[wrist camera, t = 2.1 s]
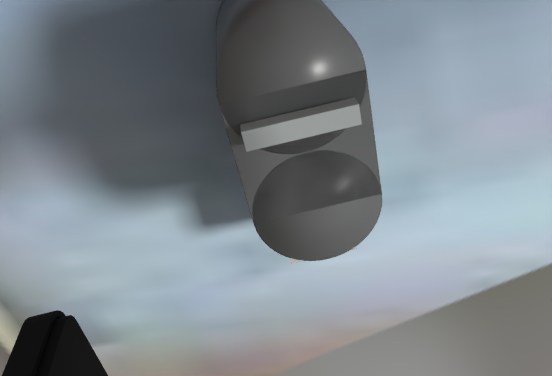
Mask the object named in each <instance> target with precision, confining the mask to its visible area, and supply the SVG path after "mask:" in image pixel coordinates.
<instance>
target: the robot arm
mask: <svg viewBox="0 0 552 376" xmlns="http://www.w3.org/2000/svg"><path fill="white" fill-rule="evenodd" d="M2 376H108V375H107V373H106V371H105V369H104V368H103V366H102V364H101V362H100V361H99V359H98V357H97V356H96V354H95V352H94V350H93V349H92V347H91V345H90V343H89V342H88V340H87V338H86V336H85V335H84V333H83V331H82V329H81V328H80V326H79V324H78V322H77V321H76V319H75V318H74V317H73V316H72V315H69V316H65V314H64V313H63V312H61V311H53V312H49V313H45V314H41V315H37V316H33V317H29V318H27V319H26V320H25V322H24V323H23V325H22V328H21V330H20V333H19V335H18V337H17V340H16V342H15V345H14V347H13V350H12V352H11V355H10V357H9V360H8V362H7V365H6V367H5V370H4V372H3V374H2Z"/></svg>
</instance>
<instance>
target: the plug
mask: <svg viewBox="0 0 552 376" xmlns="http://www.w3.org/2000/svg"><path fill="white" fill-rule="evenodd" d="M216 83H217V97H218V101H219V106H220V109H221V112H222V116H223V119H224V123H225V126H226V130H227V133H228V137H229V140H230V143H231V147H232V150H233V154H234V157H235V161H236V164H237V168H238V171H239V174H240V178H241V181H242V185H243V188H244V192H245V195H246V199H247V202H248V205H249V209H250V212H251V216H252V219H253V223H254V226H255V228H256V231H257V233H258V234H259V236H260V237H261V239H262V240H263V241H264V242H265V243H266V244H267V245H268V246H269V247H270V248H271V249H273V250H274V251H276V252H277V253H279V254H281V255H283V256H286V257H289V258H290V262H291V264H292V263H296V262H301V261H316V260H324V259H329V258H333V257H336V256H338V255H341V254H343V253H345V252H347V251H349V250H352V249H357V248H356V246H357V245H358V244H359V243H360V242H362V241H363V240H364V239H365V238H366V237H367V236H368V235H369V233H370V232H371V231H372V229H373V228H374V226H375V224H376V223H377V220H378V218H379V215H380V212H381V207H382V192H381V184H380V176H379V168H378V160H377V152H376V144H375V136H374V129H373V121H372V113H371V105H370V97H369V89H368V81H367V73H366V67H365V62H364V58H363V55H362V52H361V50H360V48H359V46H358V44H357V42H356V41H355V40H354V38H353V37H352V35H351V34H350V33H349V32H348V31H347V29H346V28H345V27H344V26H343V25H342V24H341V22H340V21H339V20H338V19H337V18H336V16H335V15H334V14H333V13H332V12H331V11H330V9H329V8H328V7H327V6H326V5H325V4H324V2H323V1H322V0H223V2H222V4H221V6H220V9H219V12H218V16H217V22H216Z"/></svg>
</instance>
